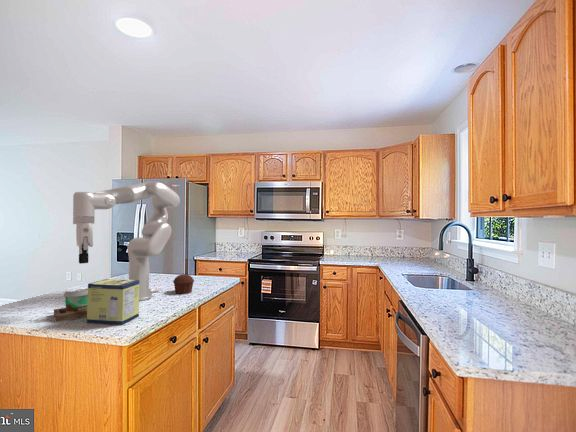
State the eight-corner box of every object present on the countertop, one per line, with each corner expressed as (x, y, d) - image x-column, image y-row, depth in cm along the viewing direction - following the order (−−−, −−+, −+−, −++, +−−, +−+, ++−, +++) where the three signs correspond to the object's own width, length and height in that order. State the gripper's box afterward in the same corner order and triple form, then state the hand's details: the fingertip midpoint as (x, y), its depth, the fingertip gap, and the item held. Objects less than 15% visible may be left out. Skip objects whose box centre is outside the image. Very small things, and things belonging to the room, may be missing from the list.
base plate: (101, 307, 131) (101, 302, 131) (106, 313, 123) (106, 307, 123) (53, 315, 119) (53, 309, 119) (55, 322, 111) (55, 315, 111)
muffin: (169, 291, 162) (170, 274, 163) (188, 289, 170) (188, 272, 170) (177, 296, 154) (178, 277, 154) (197, 292, 161) (197, 275, 161)
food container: (74, 318, 114) (75, 292, 114) (62, 316, 115) (63, 291, 116) (101, 309, 126) (102, 286, 126) (90, 307, 127) (91, 285, 127)
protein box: (105, 314, 121) (106, 278, 122) (139, 316, 120) (140, 279, 120) (85, 323, 111) (86, 283, 111) (122, 325, 109) (123, 285, 110)
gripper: (97, 220, 119) (97, 264, 119) (91, 220, 130) (91, 260, 130) (75, 221, 114) (74, 266, 114) (71, 220, 125) (70, 261, 125)
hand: (83, 262), depth 122 cm, fingers closed
